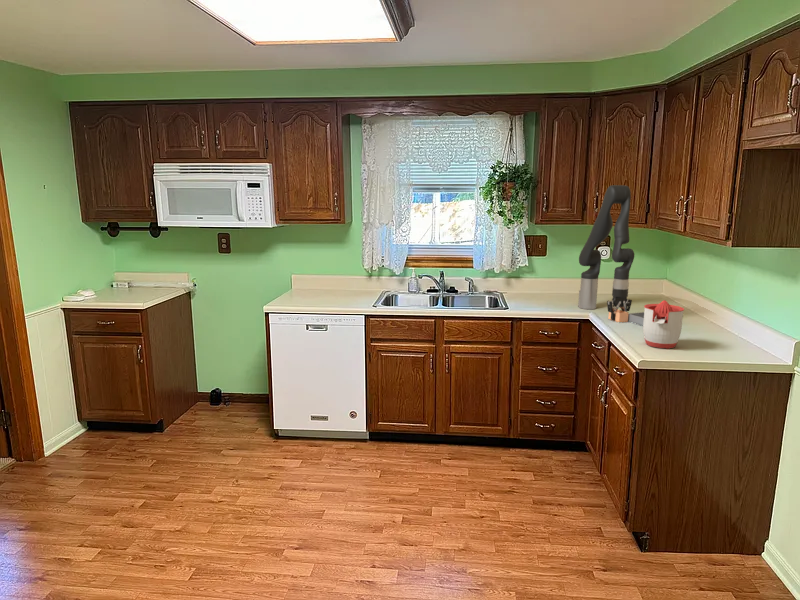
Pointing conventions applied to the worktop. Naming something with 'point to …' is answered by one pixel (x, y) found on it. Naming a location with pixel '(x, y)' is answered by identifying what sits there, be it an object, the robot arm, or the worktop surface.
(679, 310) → the citrus juicer
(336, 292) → the worktop surface
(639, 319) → the large crate
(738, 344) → the worktop surface
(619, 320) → the small crate
